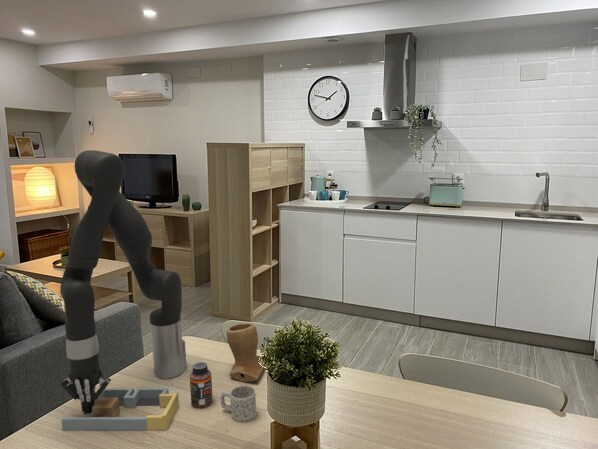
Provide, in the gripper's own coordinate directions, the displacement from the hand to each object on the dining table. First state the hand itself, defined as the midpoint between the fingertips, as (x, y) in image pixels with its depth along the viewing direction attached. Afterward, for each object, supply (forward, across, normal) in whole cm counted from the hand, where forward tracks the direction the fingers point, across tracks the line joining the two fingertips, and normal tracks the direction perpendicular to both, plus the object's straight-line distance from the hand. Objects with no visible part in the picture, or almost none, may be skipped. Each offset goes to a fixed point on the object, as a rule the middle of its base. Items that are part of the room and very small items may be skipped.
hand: (89, 412), depth 124 cm
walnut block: (+2, +5, 0) cm, 5 cm away
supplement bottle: (+1, +29, +7) cm, 30 cm away
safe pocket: (+1, +20, 0) cm, 20 cm away
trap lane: (+1, +7, +2) cm, 7 cm away
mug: (+1, +40, +2) cm, 40 cm away
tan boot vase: (+1, +38, +25) cm, 46 cm away
